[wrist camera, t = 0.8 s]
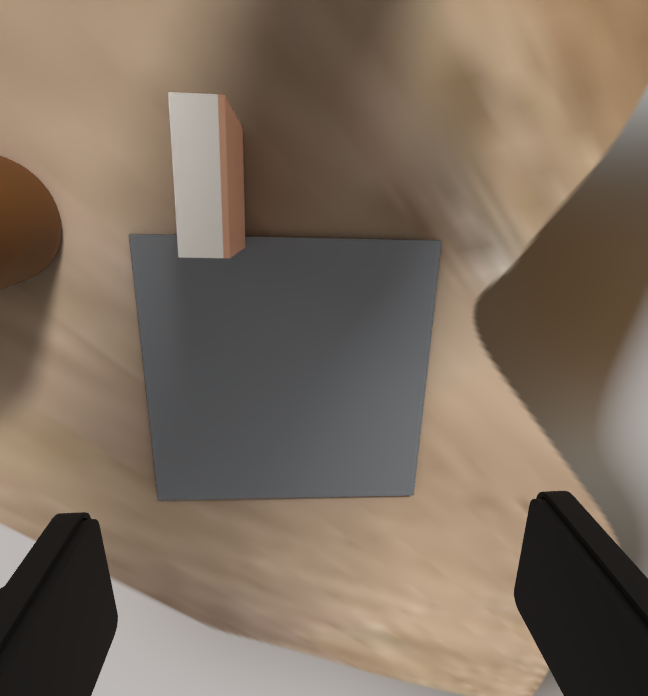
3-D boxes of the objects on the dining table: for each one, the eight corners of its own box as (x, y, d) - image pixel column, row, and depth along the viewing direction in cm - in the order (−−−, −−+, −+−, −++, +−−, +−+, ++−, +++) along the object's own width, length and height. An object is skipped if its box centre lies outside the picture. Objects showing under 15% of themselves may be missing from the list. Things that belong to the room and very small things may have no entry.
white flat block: (201, 126, 28) (168, 91, 20) (242, 127, 28) (224, 94, 20) (207, 246, 29) (178, 257, 22) (245, 247, 30) (229, 258, 22)
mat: (130, 233, 29) (128, 234, 29) (439, 240, 31) (441, 241, 30) (159, 497, 36) (158, 500, 36) (412, 492, 38) (413, 495, 37)
